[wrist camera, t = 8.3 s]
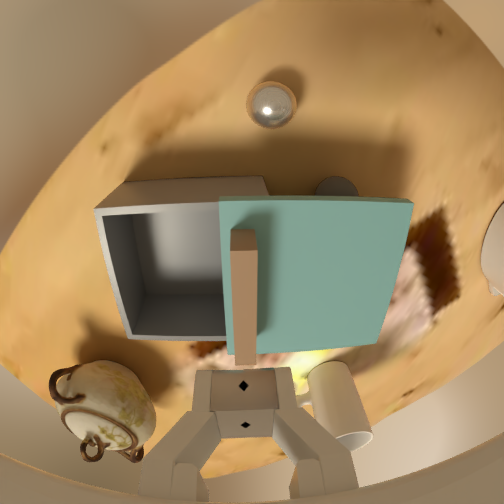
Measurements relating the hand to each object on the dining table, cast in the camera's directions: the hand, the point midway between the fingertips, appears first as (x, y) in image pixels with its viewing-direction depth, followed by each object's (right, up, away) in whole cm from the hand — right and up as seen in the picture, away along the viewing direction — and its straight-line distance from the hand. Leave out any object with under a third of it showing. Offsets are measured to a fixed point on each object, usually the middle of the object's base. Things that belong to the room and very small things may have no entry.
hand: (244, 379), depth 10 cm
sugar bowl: (-20, -14, +31) cm, 39 cm away
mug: (+10, -14, +32) cm, 36 cm away
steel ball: (+2, +17, +15) cm, 22 cm away
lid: (+5, +2, +15) cm, 16 cm away
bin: (-5, +5, +21) cm, 22 cm away
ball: (+8, +10, +19) cm, 23 cm away
